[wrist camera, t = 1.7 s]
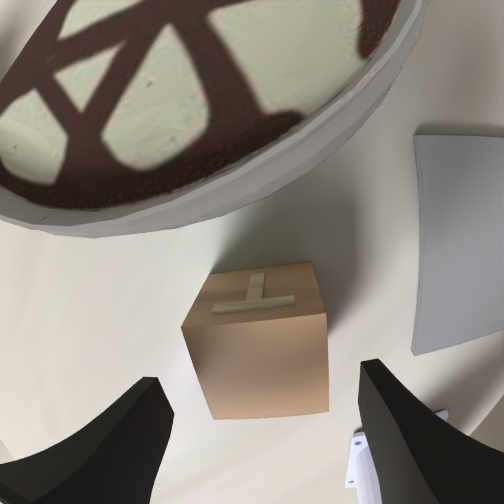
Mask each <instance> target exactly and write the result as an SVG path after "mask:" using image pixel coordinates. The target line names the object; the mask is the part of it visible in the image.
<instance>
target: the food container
mask: <svg viewBox="0 0 504 504" xmlns="http://www.w3.org/2000/svg"><path fill="white" fill-rule="evenodd" d="M427 5H428V0H57V2H56V3H55V4H54V6H53V7H52V8H51V10H50V11H49V12H48V14H47V15H46V17H45V18H44V19H43V21H42V22H41V24H40V25H39V26H38V28H37V29H36V30H35V32H34V33H33V35H32V36H31V38H30V39H29V41H28V42H27V44H26V45H25V47H24V48H23V50H22V51H21V53H20V54H19V56H18V57H17V59H16V60H15V62H14V63H13V65H12V66H11V68H10V69H9V71H8V72H7V74H6V75H5V77H4V78H3V80H2V81H1V83H0V219H1V220H2V221H6V222H9V223H12V224H15V225H18V226H22V227H25V228H28V229H31V230H40V231H43V232H47V233H50V234H53V235H60V236H72V237H85V238H101V237H110V236H119V235H128V234H137V233H145V232H153V231H160V230H168V229H175V228H179V227H183V226H186V225H190V224H194V223H197V222H201V221H205V220H209V219H213V218H216V217H220V216H223V215H225V214H227V213H230V212H232V211H234V210H237V209H239V208H241V207H244V206H246V205H248V204H251V203H253V202H256V201H258V200H260V199H263V198H265V197H268V196H269V195H271V194H273V193H274V192H276V191H277V190H279V189H281V188H282V187H284V186H286V185H287V184H289V183H291V182H292V181H294V180H296V179H297V178H299V177H301V176H302V175H304V174H306V173H307V172H309V171H311V170H312V169H314V168H315V167H316V166H317V165H318V164H320V163H321V162H322V161H323V160H324V159H326V158H327V157H328V156H329V155H330V154H332V153H333V152H334V151H335V150H337V149H338V148H339V147H340V146H341V145H343V144H344V143H345V142H346V141H347V140H349V139H350V138H351V137H352V136H353V135H354V134H355V133H356V131H357V130H358V129H359V128H360V127H361V126H362V124H363V123H364V122H365V121H366V120H367V119H368V118H369V116H370V115H371V114H372V113H373V112H374V111H375V109H376V108H377V107H378V106H379V105H380V104H381V103H382V101H383V99H384V97H385V96H386V94H387V92H388V91H389V89H390V87H391V85H392V84H393V82H394V80H395V78H396V77H397V75H398V73H399V71H400V70H401V68H402V66H403V64H404V63H405V61H406V59H407V57H408V56H409V54H410V52H411V50H412V48H413V47H414V45H415V43H416V41H417V39H418V37H419V33H420V30H421V26H422V23H423V19H424V16H425V12H426V8H427Z"/></svg>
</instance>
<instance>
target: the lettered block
mask: <svg viewBox="0 0 504 504" xmlns="http://www.w3.org/2000/svg"><path fill="white" fill-rule="evenodd" d="M181 329H182V332H183V336H184V339H185V342H186V345H187V348H188V351H189V354H190V357H191V360H192V363H193V366H194V369H195V371H196V374H197V377H198V380H199V383H200V385H201V388H202V391H203V394H204V396H205V399H206V402H207V404H208V407H209V409H210V412H211V415H212V417H213V419H258V418H275V417H287V416H298V415H307V414H316V413H324V412H329V369H328V339H327V319H326V311H325V307H324V303H323V300H322V296H321V293H320V289H319V286H318V282H317V279H316V276H315V272H314V269H313V266H312V262H311V261H310V262H303V263H295V264H287V265H279V266H271V267H263V268H255V269H247V270H239V271H231V272H223V273H214V274H209V275H208V277H207V279H206V281H205V283H204V285H203V286H202V288H201V290H200V292H199V294H198V296H197V298H196V299H195V301H194V303H193V305H192V307H191V309H190V311H189V313H188V315H187V316H186V318H185V320H184V322H183V324H182V326H181Z"/></svg>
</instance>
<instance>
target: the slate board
mask: <svg viewBox="0 0 504 504" xmlns="http://www.w3.org/2000/svg"><path fill="white" fill-rule="evenodd" d="M413 136H414V144H415V153H416V163H417V175H418V189H419V213H420V256H419V279H418V294H417V306H416V316H415V325H414V333H413V341H412V348H411V351H412V353H413V354H414V356H417V355H421V354H425V353H429V352H433V351H436V350H440V349H444V348H447V347H451V346H454V345H457V344H461V343H464V342H467V341H471V340H474V339H477V338H480V337H483V336H486V335H489V334H492V333H494V332H497V331H500V330H503V329H504V138H501V137H486V136H465V135H413Z"/></svg>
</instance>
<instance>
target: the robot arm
mask: <svg viewBox="0 0 504 504" xmlns="http://www.w3.org/2000/svg"><path fill="white" fill-rule="evenodd" d="M358 405H359V411H360V416H361V421H362V426H363V430H364V431H363V432H358V433H355V434H354V435H353V436H352V437H351V445H350V453H349V460H348V467H347V473H346V480H345V487H346V488H352V487H356V491H357V498H358V504H504V453H503V452H501V451H498V450H496V449H493V448H491V447H489V446H487V445H485V444H482V443H480V442H479V441H477V440H475V439H473V438H471V437H469V436H467V435H465V434H464V433H462V432H461V431H459V430H457V429H456V428H454V427H453V426H451V425H450V424H448V423H447V422H446V421H447V418H448V416H449V413H448V411H447V410H444V411H440V412H437V413H434V412H432V411H431V410H430V409H429V408H428V407H426V406H425V405H424V404H423V403H422V402H421V401H420V400H418V399H417V398H416V397H415V396H414V395H413V394H412V393H411V392H410V391H409V390H408V389H407V388H406V387H405V386H404V385H403V384H402V383H401V382H400V381H399V380H398V379H397V378H396V377H395V376H394V375H393V374H392V373H391V372H390V371H389V369H388V368H387V367H386V366H385V365H384V364H383V363H382V362H381V361H380V360H379V359H373V360H367V361H362V362H361V366H360V382H359V394H358ZM173 419H174V412H173V410H172V408H171V406H170V403H169V401H168V399H167V397H166V395H165V393H164V391H163V389H162V386H161V384H160V382H159V380H158V377H143V378H141V379H140V380H139V381H138V382H136V383H135V384H134V385H133V386H132V387H131V388H130V389H129V390H127V391H126V392H125V393H124V394H123V395H122V396H121V397H120V398H119V399H117V400H116V401H115V402H114V403H113V404H112V405H111V406H109V407H108V408H107V409H106V410H105V411H104V412H102V413H101V414H100V415H99V416H97V417H96V418H95V419H94V420H92V421H91V422H90V423H88V424H87V425H86V426H85V427H83V428H82V429H80V430H79V431H77V432H76V433H74V434H73V435H71V436H70V437H68V438H66V439H65V440H63V441H61V442H59V443H57V444H55V445H53V446H52V447H50V448H48V449H46V450H43V451H41V452H39V453H36V454H34V455H31V456H28V457H26V458H23V459H19V460H16V461H12V462H8V463H4V464H0V502H2V503H3V504H149V503H150V498H151V493H152V488H153V485H154V481H155V478H156V476H157V473H158V470H159V467H160V464H161V461H162V458H163V456H164V453H165V450H166V447H167V444H168V441H169V438H170V434H171V430H172V424H173Z"/></svg>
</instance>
